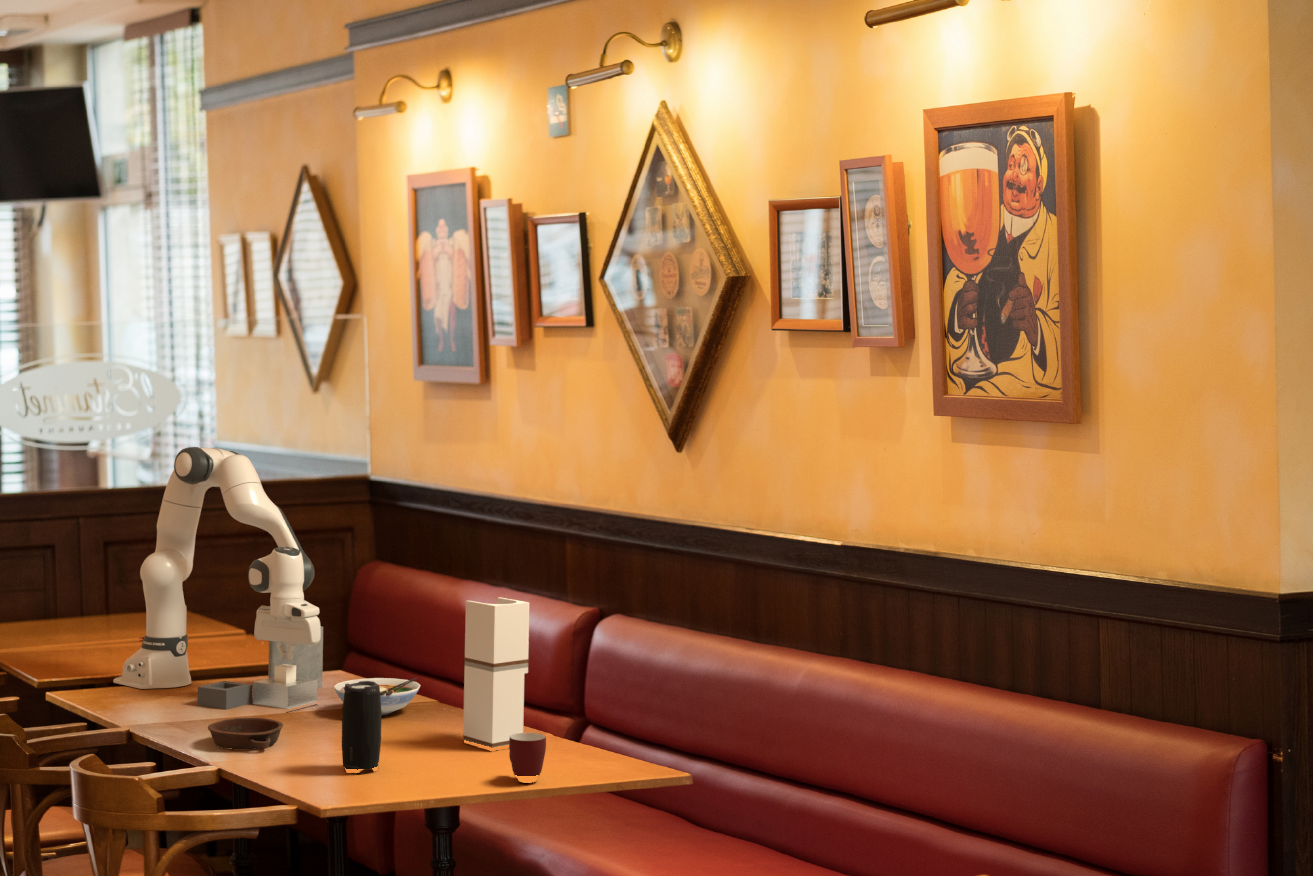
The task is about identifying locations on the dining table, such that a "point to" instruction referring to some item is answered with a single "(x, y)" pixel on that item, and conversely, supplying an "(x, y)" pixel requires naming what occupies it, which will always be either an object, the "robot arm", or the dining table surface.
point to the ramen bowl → (387, 692)
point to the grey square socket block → (224, 695)
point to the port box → (285, 693)
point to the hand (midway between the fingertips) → (286, 658)
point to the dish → (245, 733)
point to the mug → (527, 753)
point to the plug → (285, 673)
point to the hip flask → (300, 660)
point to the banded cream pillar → (495, 670)
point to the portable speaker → (361, 725)
